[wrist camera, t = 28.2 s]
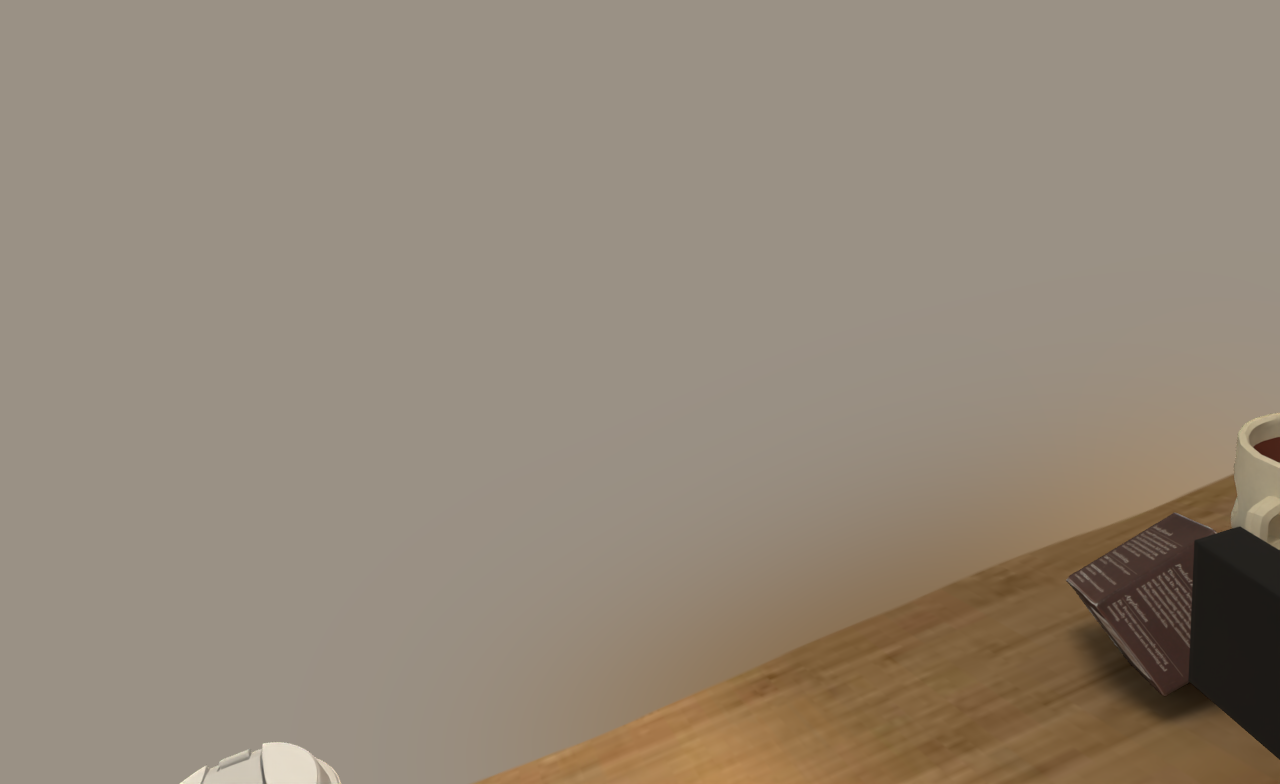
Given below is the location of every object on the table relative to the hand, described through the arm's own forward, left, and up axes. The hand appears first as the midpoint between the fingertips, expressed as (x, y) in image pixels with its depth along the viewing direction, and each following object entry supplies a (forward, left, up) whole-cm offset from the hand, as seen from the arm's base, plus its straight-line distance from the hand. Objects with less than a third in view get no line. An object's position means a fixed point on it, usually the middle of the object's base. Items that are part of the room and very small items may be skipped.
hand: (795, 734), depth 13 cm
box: (+1, -35, -27) cm, 44 cm away
